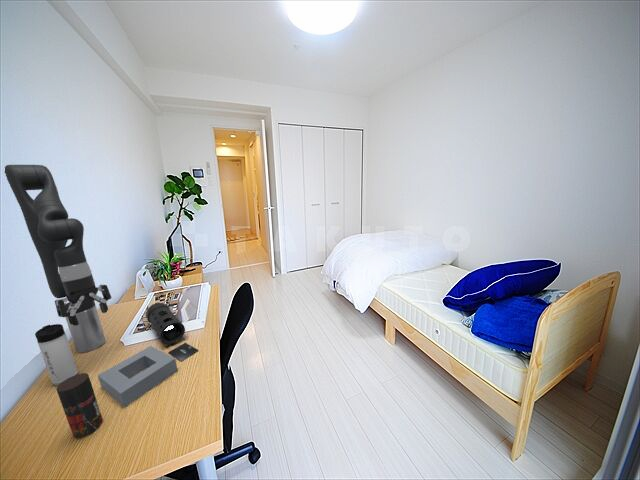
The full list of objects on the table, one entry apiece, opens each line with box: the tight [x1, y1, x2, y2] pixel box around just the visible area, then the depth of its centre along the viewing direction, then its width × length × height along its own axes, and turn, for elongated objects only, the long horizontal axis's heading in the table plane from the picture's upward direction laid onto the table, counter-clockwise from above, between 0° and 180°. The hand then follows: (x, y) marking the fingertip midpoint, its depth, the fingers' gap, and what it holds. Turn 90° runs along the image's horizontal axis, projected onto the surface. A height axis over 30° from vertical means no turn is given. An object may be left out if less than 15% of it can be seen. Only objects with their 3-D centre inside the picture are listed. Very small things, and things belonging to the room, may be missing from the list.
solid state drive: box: [167, 342, 199, 363], centre depth 94 cm, size 7×10×1 cm
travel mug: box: [34, 323, 79, 387], centre depth 81 cm, size 6×7×20 cm
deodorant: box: [55, 372, 104, 440], centre depth 64 cm, size 6×6×15 cm
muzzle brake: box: [145, 302, 186, 345], centre depth 108 cm, size 10×28×10 cm, turn 46°
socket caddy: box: [97, 345, 179, 408], centre depth 81 cm, size 16×16×5 cm
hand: (90, 318), depth 86 cm, fingers open, 8 cm apart
